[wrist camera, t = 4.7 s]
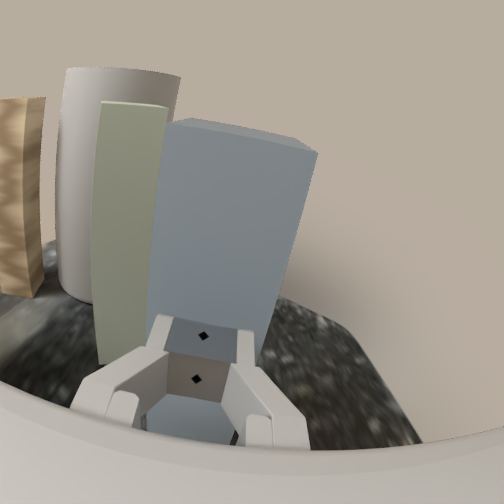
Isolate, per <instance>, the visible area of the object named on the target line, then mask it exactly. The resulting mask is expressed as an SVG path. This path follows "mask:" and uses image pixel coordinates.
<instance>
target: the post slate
mask: <svg viewBox="0 0 504 504" xmlns="http://www.w3.org/2000/svg"><path fill="white" fill-rule="evenodd" d="M317 156H318V153H317V152H316V151H314V150H313V149H311V148H310V147H308V146H307V145H305V144H304V143H302V142H300V141H299V140H297V139H295V138H291V137H287V136H283V135H278V134H274V133H269V132H265V131H260V130H255V129H250V128H246V127H241V126H235V125H230V124H225V123H219V122H213V121H208V120H202V119H195V118H189V119H184V120H178V121H174V122H169V123H167V124H166V130H165V136H164V142H163V148H162V155H161V161H160V168H159V176H158V183H157V191H156V199H155V208H154V217H153V227H152V237H151V249H150V261H149V275H148V292H147V315H146V343H147V341H148V338H149V335H150V333H151V330H152V327H153V324H154V322H155V319H156V317H157V315H158V314H163V315H168V316H173V317H178V318H182V319H187V320H192V321H196V322H201V323H206V324H211V325H216V326H222V327H228V328H234V329H245V330H252V331H253V332H254V345H255V367H256V365H257V362H258V359H259V356H260V352H261V349H262V346H263V343H264V340H265V337H266V333H267V330H268V327H269V324H270V321H271V317H272V314H273V311H274V308H275V304H276V301H277V298H278V294H279V291H280V288H281V284H282V281H283V277H284V274H285V271H286V267H287V264H288V261H289V257H290V254H291V250H292V247H293V243H294V240H295V236H296V233H297V229H298V226H299V222H300V219H301V215H302V211H303V208H304V204H305V200H306V197H307V193H308V190H309V186H310V182H311V178H312V175H313V171H314V167H315V163H316V159H317ZM146 416H147V431H149V432H154V433H158V434H163V435H168V436H173V437H178V438H184V439H190V440H196V441H202V442H209V443H216V444H224V445H230V442H231V439H232V436H233V434H234V431H235V428H234V426H233V425H232V423H231V421H230V419H229V418H228V416H227V414H226V413H225V411H224V409H223V408H222V406H221V403H217V402H212V401H206V400H201V399H196V398H190V397H184V396H178V395H172V394H166V396H165V397H163V398H162V399H161V400H160V401H159V402H158V403H157V404H156V405H154V406H153V407H152V408H151V409H150V410H149V411H148V412H147V413H146Z"/></svg>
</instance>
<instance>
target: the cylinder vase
mask: <svg viewBox="0 0 504 504" xmlns="http://www.w3.org/2000/svg"><path fill="white" fill-rule="evenodd" d="M180 80H181V78H180V77H178V76H174V75H170V74H165V73H159V72H153V71H146V70H138V69H127V68H114V67H75V68H69V69H67V73H66V78H65V84H64V90H63V97H62V104H61V112H60V121H59V132H58V142H57V155H56V176H55V177H56V178H55V229H56V251H57V265H58V277H59V281H60V284H61V286H62V287H63V289H64V290H65V291H66V292H67V293H68V294H69V295H71V296H72V297H74V298H76V299H78V300H80V301H83V302H86V303H90V304H93V296H92V276H91V206H92V185H93V171H94V159H95V148H96V139H97V130H98V123H99V115H100V108H101V102H102V101H113V102H128V103H141V104H151V105H159V106H163V107H166V108H169V112H168V117H167V123H169V122H172V121H173V115H174V110H175V105H176V99H177V94H178V89H179V85H180ZM167 123H166V124H167ZM165 130H166V129H165ZM164 136H165V134H164ZM163 142H164V141H163ZM162 148H163V147H162ZM161 155H162V153H161ZM160 161H161V160H160ZM159 168H160V167H159ZM158 176H159V174H158ZM157 183H158V182H157ZM156 191H157V190H156ZM155 199H156V198H155ZM154 208H155V206H154ZM153 217H154V215H153ZM152 227H153V225H152ZM151 237H152V236H151ZM150 249H151V247H150ZM149 261H150V259H149ZM148 275H149V274H148Z"/></svg>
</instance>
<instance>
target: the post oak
mask: <svg viewBox="0 0 504 504" xmlns="http://www.w3.org/2000/svg"><path fill="white" fill-rule="evenodd" d="M45 99H46V97H20V98H19V97H18V98H5V99H0V284H1V289H2V293H4V294H9V295H15V296H20V297H26V298H32V299H33V297H34V295H35V294H36V292H37V290H38V289H39V287H40V285H41V284H42V282H43V280H44V279H45V278H44V269H43V259H42V247H41V233H40V200H39V182H40V181H39V180H40V153H41V138H42V126H43V117H44V108H45Z"/></svg>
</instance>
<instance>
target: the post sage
mask: <svg viewBox="0 0 504 504" xmlns="http://www.w3.org/2000/svg"><path fill="white" fill-rule="evenodd" d="M168 112H169V108H166V107H163V106H159V105H151V104H141V103H128V102H113V101H102V102H101V108H100V115H99V123H98V130H97V139H96V148H95V159H94V171H93V185H92V206H91V276H92V296H93V311H94V323H95V334H96V343H97V351H98V359H99V365H102V364H110V363H112V362H113V361H115V360H117V359H119V358H120V357H122V356H124V355H126V354H127V353H129V352H131V351H133V350H134V349H136V348H138V347H140V346H144V347H145V346H146V312H147V290H148V274H149V259H150V247H151V236H152V225H153V215H154V206H155V198H156V190H157V182H158V174H159V167H160V160H161V153H162V147H163V141H164V134H165V129H166V123H167V117H168Z"/></svg>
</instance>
